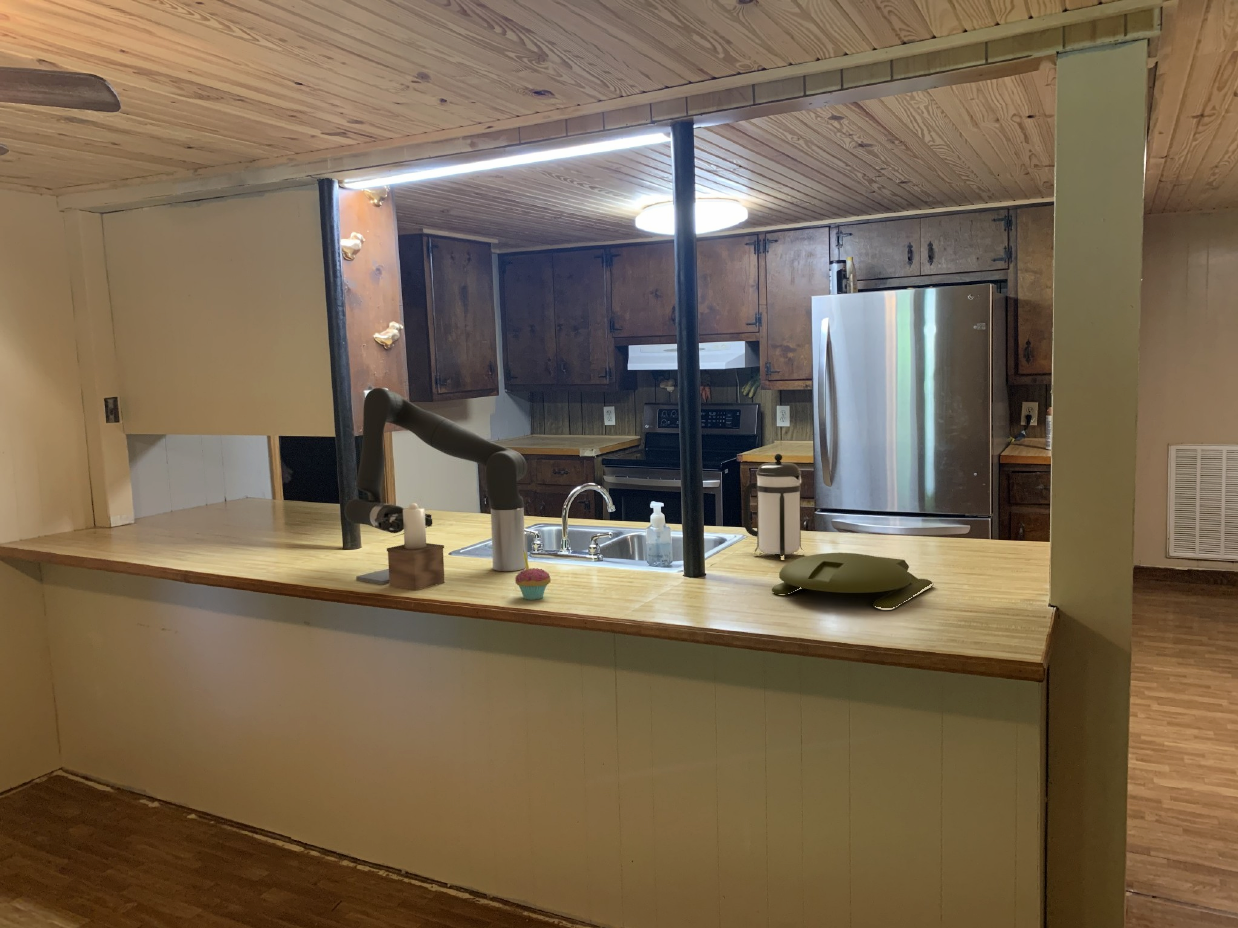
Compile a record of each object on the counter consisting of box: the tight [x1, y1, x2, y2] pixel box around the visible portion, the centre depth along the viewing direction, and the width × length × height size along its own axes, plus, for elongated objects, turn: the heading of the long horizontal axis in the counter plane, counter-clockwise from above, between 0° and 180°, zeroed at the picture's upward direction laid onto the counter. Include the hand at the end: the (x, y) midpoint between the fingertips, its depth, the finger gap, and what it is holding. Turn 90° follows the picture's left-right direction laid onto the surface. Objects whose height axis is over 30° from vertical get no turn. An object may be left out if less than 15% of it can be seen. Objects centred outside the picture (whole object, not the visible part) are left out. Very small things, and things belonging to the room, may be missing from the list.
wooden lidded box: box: [386, 542, 445, 591], centre depth 235 cm, size 10×10×10 cm
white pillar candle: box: [403, 502, 427, 549], centre depth 234 cm, size 6×6×12 cm
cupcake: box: [514, 549, 552, 601], centre depth 218 cm, size 9×8×12 cm
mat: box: [355, 568, 389, 585], centre depth 244 cm, size 12×11×1 cm
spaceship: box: [771, 552, 933, 608], centre depth 215 cm, size 35×31×10 cm
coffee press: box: [742, 453, 803, 557], centre depth 260 cm, size 17×16×30 cm
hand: (415, 524), depth 233 cm, fingers open, 8 cm apart
